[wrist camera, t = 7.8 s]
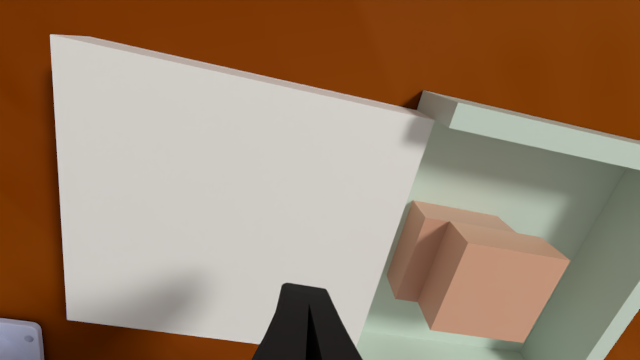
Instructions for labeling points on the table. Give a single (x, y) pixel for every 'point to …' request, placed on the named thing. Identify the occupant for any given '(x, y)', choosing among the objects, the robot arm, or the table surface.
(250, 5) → the table surface
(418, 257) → the tile
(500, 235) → the tile
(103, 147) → the board
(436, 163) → the box
